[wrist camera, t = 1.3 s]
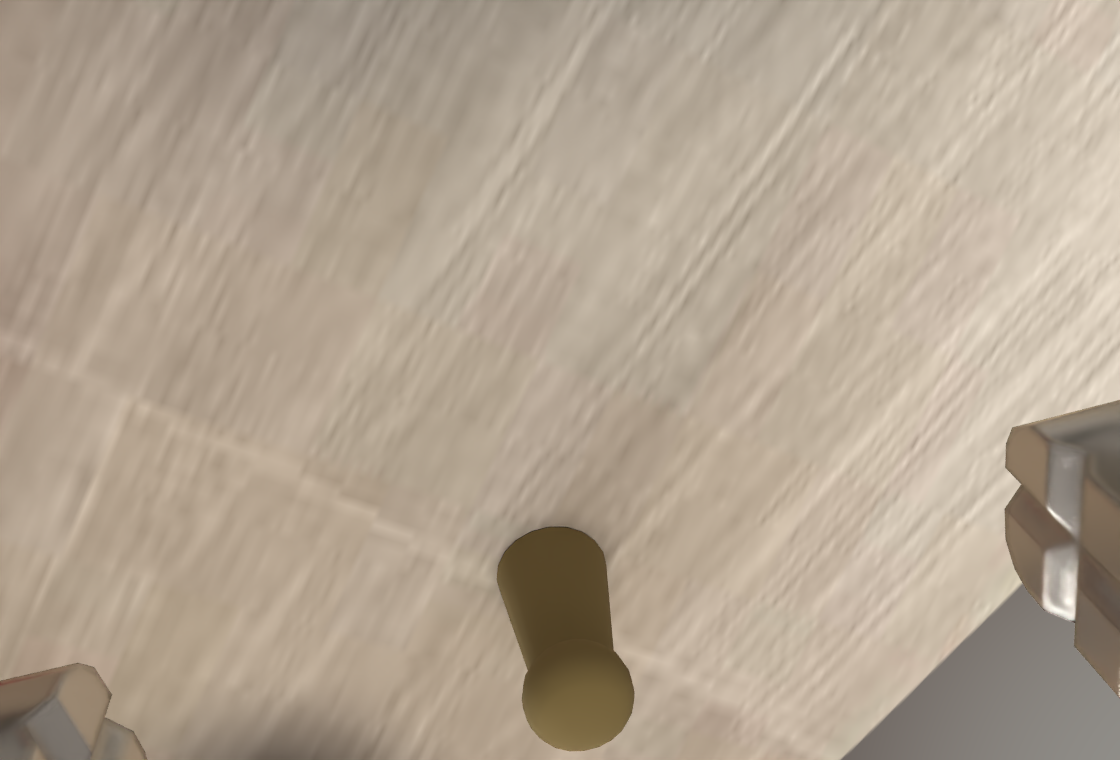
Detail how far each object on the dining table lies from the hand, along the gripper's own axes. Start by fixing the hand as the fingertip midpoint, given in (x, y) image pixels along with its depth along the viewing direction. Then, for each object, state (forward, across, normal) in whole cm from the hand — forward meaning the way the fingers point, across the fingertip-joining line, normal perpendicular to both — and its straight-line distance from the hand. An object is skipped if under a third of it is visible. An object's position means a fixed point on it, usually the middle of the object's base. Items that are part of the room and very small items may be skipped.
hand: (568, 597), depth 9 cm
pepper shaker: (+36, +1, +29) cm, 46 cm away
